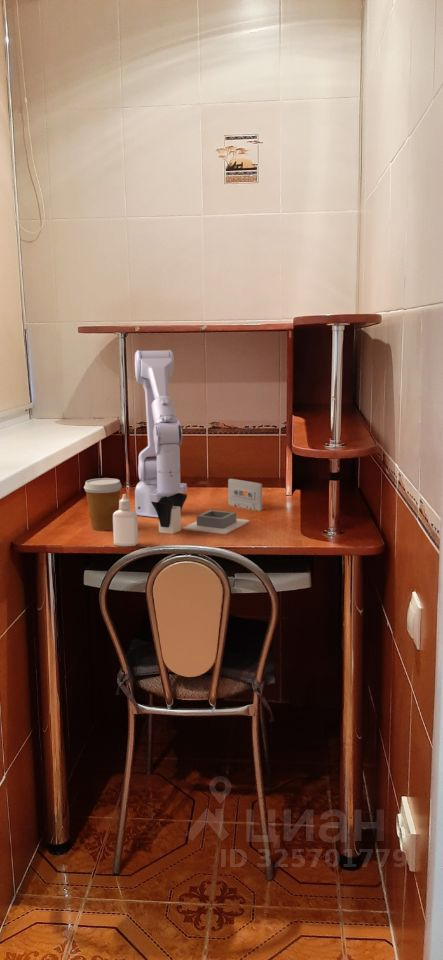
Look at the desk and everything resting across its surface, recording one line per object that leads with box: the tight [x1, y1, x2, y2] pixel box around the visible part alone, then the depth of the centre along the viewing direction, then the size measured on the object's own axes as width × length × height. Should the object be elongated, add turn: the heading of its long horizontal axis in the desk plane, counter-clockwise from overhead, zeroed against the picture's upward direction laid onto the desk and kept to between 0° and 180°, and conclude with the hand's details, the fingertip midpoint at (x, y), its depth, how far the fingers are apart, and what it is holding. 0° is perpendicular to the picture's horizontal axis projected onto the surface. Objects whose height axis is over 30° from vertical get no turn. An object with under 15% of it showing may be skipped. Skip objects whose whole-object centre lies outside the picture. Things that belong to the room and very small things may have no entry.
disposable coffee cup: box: [83, 477, 123, 531], centre depth 196 cm, size 10×10×12 cm
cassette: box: [227, 478, 263, 512], centre depth 216 cm, size 12×2×8 cm, turn 47°
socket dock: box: [182, 509, 251, 535], centre depth 197 cm, size 12×14×3 cm
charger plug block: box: [158, 506, 182, 535], centre depth 192 cm, size 4×4×7 cm
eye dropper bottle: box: [112, 493, 139, 547], centre depth 180 cm, size 4×6×12 cm
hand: (169, 524), depth 192 cm, fingers closed on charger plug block, 4 cm apart
